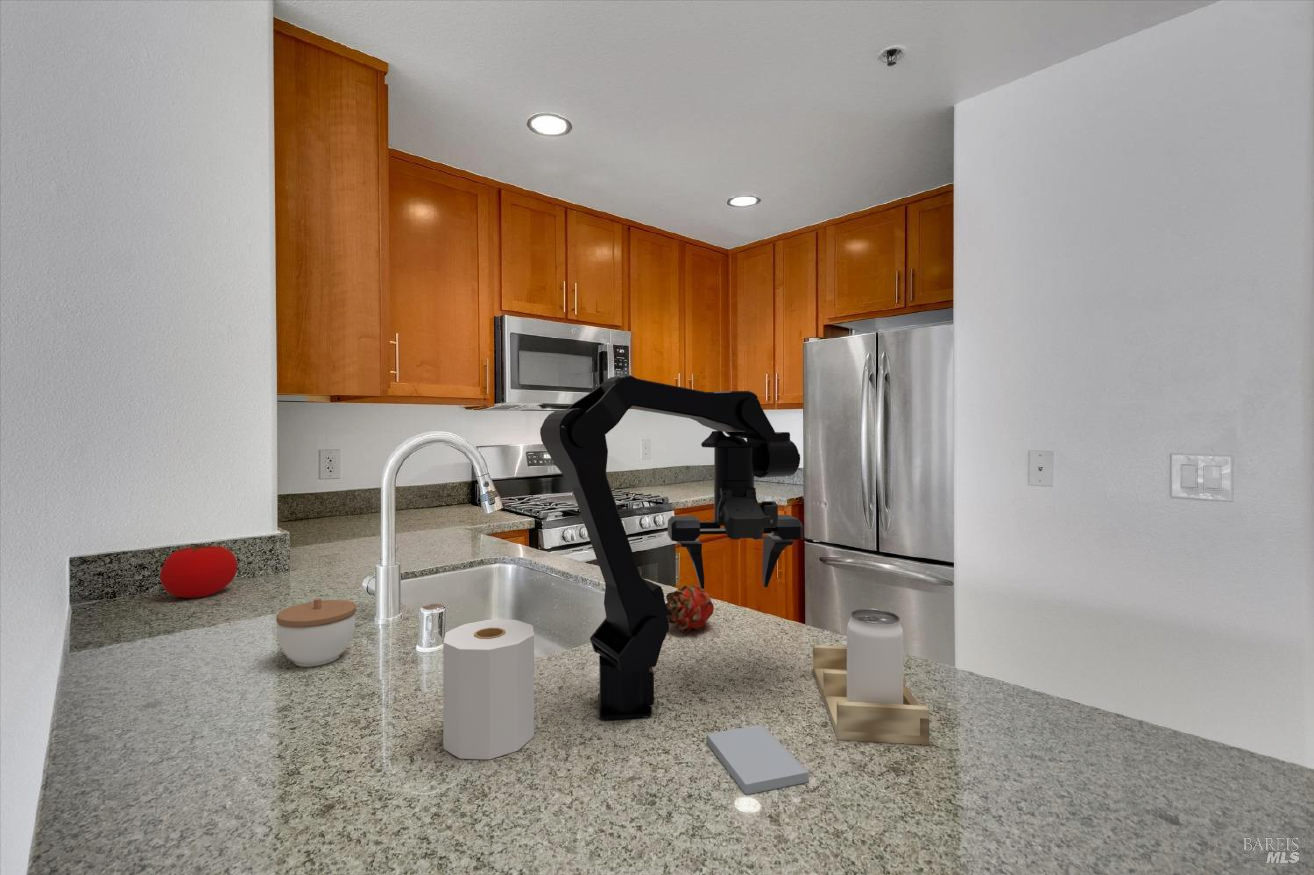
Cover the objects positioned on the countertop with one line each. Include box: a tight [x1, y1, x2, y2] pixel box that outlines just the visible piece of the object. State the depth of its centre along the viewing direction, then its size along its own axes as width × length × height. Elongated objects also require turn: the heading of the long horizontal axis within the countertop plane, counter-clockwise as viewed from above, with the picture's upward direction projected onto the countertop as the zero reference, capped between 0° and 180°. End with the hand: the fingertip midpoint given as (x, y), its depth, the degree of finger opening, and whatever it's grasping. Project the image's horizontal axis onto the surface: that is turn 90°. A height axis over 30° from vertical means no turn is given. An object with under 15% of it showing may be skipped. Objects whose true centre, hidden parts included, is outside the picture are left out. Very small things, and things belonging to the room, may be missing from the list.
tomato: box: [159, 543, 239, 599], centre depth 126 cm, size 12×13×11 cm
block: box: [706, 724, 810, 796], centre depth 63 cm, size 7×10×1 cm
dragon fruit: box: [665, 584, 715, 634], centre depth 105 cm, size 8×8×12 cm
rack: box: [812, 644, 930, 746], centre depth 76 cm, size 10×19×4 cm, turn 174°
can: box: [846, 608, 904, 705], centre depth 71 cm, size 6×6×12 cm
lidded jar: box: [275, 597, 357, 668], centre depth 90 cm, size 11×11×9 cm
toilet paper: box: [442, 619, 535, 760], centre depth 68 cm, size 10×10×12 cm
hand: (733, 587), depth 84 cm, fingers open, 9 cm apart
